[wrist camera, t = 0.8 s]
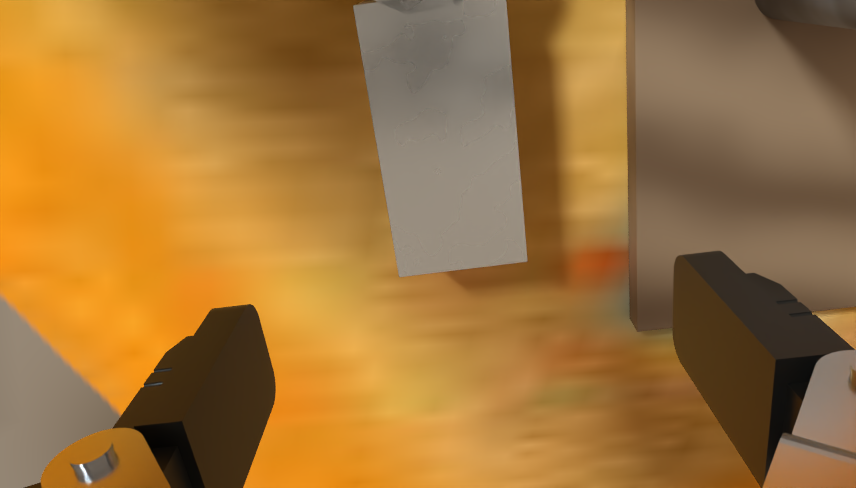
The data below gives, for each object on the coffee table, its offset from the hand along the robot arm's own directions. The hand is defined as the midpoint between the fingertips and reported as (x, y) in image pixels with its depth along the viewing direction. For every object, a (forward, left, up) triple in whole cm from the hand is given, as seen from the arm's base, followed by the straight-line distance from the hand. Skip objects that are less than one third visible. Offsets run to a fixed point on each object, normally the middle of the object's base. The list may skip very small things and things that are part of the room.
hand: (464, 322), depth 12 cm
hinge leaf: (-3, 0, -16) cm, 16 cm away
